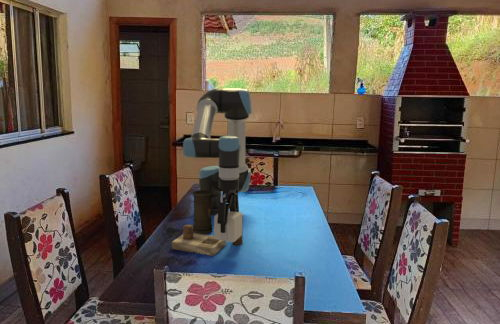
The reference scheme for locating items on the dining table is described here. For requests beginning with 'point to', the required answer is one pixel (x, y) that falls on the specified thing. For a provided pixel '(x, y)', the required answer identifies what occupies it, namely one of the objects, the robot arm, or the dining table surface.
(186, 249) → the board
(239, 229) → the block
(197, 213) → the container
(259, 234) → the dining table surface
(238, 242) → the peg
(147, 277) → the dining table surface
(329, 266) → the dining table surface
